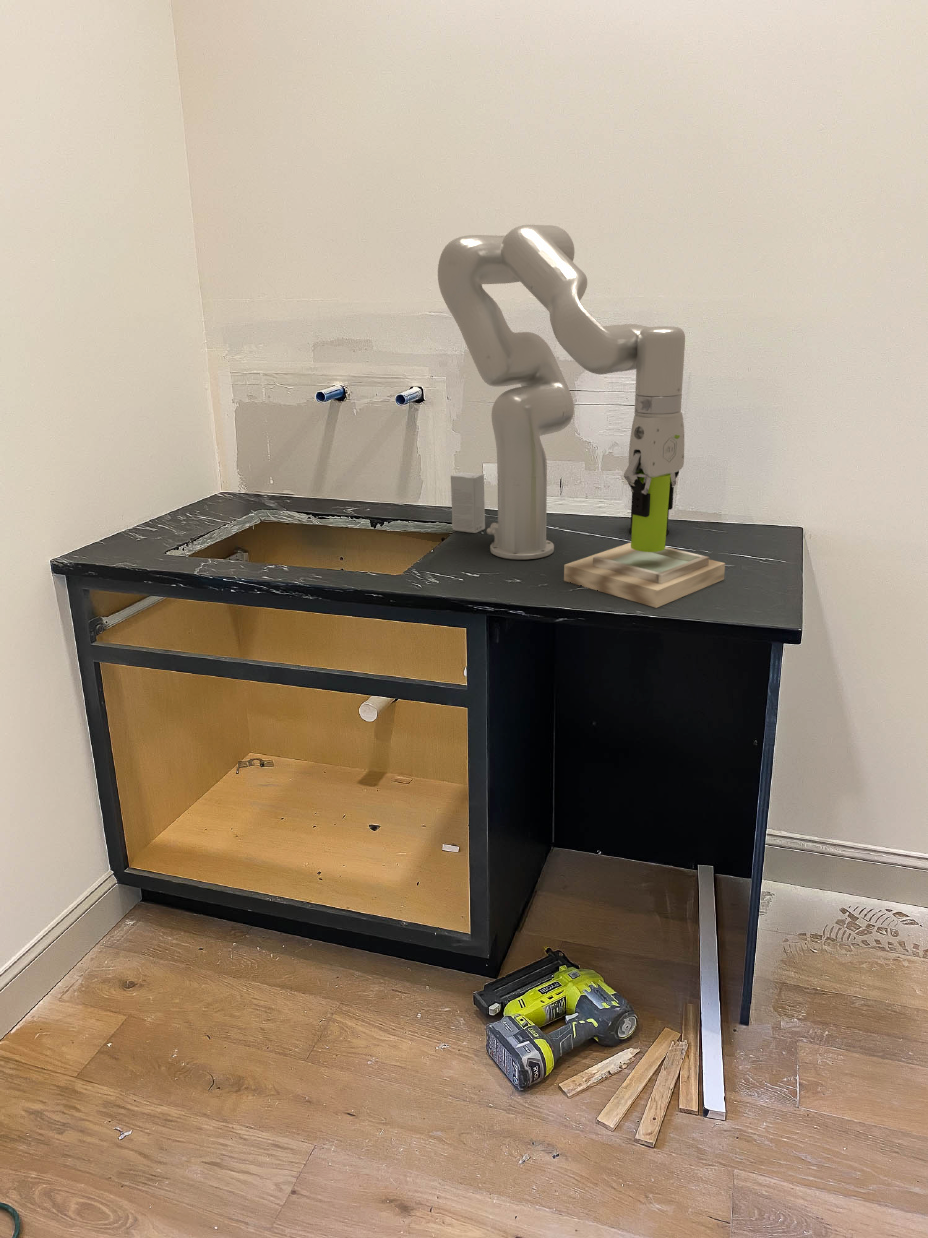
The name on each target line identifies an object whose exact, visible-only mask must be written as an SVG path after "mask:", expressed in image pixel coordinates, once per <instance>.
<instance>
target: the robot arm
mask: <svg viewBox="0 0 928 1238" xmlns="http://www.w3.org/2000/svg"><path fill="white" fill-rule="evenodd" d="M574 259H575V244H574V241H573V239H572V237H571V236H570V235H569V233H568V232H567V231H566V230H565V229H563V228H562V227H560V226H555V225H545V224H523V225H519V226H516V227H514V228H512V229H511V230H510V231H508V232H507V234H506V235H496V234H495V235H489V234H469V235H463V236H459V237H456V238H453V239H452V240H450V241H449V242H448V243H447V244H446V245H445V247H444V248H443V249H442V252H441V254H440V256H439V260H438V264H437V281H438V286H439V287H438V288H439V290H440V294H441V297H442V299H443V301H444V303H445V305H446V307H447V309H448V311H449V312H450V314H451V316H452V317H453V319H454V321H455V322H456V324H457V326H458V328H459V329H458V330H460V334H461V335H462V338H463V340H464V342H465V345H466V347H467V349H468V352H469V354H470V356H471V358H472V360H473V363H474V364H475V367H476V369H477V371H478V374H479V376H480V377H481V379H482V380H483V382H484V383H486V384H487V385H488V386H491V387H494V388H495V387H496V388H497V387H498V388H499V387H501V388H502V387H508V386H514V385H520V386H518V387H515V388H510V389H508V390H506V391H504V392H503V393H501V394H500V395H498V396H497V398H496V400H495V401H494V402H493V405H492V408H491V424H492V430H493V435H494V440H495V448H496V470H497V471H496V473H497V522H492V523H491V524H490V527H487V529H486V534H487V535H491V536H494V541H493V542H491V544H490V546H489V548H490V549H489V550H490V553H491V554H493V556H496V557H499V558H503V559H508V560H518V561H519V560H522V561H523V560H525V561H526V560H535V559H541V558H545V557H548V556H550V555H551V554H553V553H554V551H555V544H554V543H553V542H552V541H550V540H548V539H547V513H548V512H547V509H548V508H547V506H548V505H547V504H548V503H547V502H548V501H547V500H548V498H547V496H548V491H547V490H548V488H547V487H548V461H547V460H548V459H547V454H546V451H545V449H544V446H543V444H542V443H543V442H542V441H541V437H542V436H546V435H550V434H554V433H558V432H561V431H562V430H565V429H566V428H567V427H568V426H569V425H570V423H571V422H572V420H573V418H574V414H575V413H574V412H575V405H574V404H575V403H574V400H573V396H572V393H571V391H570V388H569V386H568V384H567V381H566V379H565V376H564V375H563V372H562V370H561V368H560V366H559V364H558V361H557V359H556V357H555V355H554V352H553V351H552V349H551V346H550V345H549V344H548V343H547V341H545V339H544V338H542V337H541V336H540V335H538V334H536V333H534V332H531V331H530V332H529V331H520V332H514V331H512V329H511V328H510V327H509V324H508V323H507V321H506V319H505V316H504V314H503V311H502V309H501V307H500V306H499V305H498V303H497V302H496V300H494V298H493V297H492V296H491V295H490V294H489V293H488V292H487V291H486V290H485V289H484V288H483V285H497V284H498V285H499V284H500V285H501V284H502V285H503V284H504V285H505V284H514V283H521V284H522V285H523V286H524V288H526V289H527V290H528V292H530V293H531V294H532V296H533V297H535V299H536V300H537V301H538V302H539V303H540V304H541V305H542V306H543V307H544V308H545V309H546V311H548V314H549V321H550V325H551V326H550V327H551V328H552V331H553V335H554V337H555V338H556V340H557V342H558V344H559V345H560V346H561V348H563V350H564V351H565V352H566V353H567V354H568V355H569V356H570V357H571V358H572V360H573V361H575V362H576V363H577V364H578V365H579V366H580V367H582V368H583V369H584V370H586V371H587V372H589V373H592V374H594V375H607V374H613V373H620V372H621V373H622V372H628V371H633V370H636V371H635V372H636V373H635V390H634V392H635V393H634V394H635V395H634V415H633V419H632V425H631V431H630V440H629V449H628V465H627V468H626V470H625V471H624V473H623V477H624V479H625V480H626V481H627V484H628V486H629V488H630V491H631V493H632V492H633V503H632V502H631V505H632V514H633V515H637V516H642V517H648V516H649V512H650V494H649V493H648V490H649V486H650V482H651V479H652V478H655V477H660V476H663V475H667V474H671V477H670V490H669V503H668V510H669V511H670V510H672V509H673V505H674V493H675V492H674V488H675V486H676V485H677V478H678V476H679V473H680V471H681V470H682V469H683V468H684V463H685V423H684V416H683V412H682V399H683V398H682V397H683V395H682V394H683V382H684V381H683V380H684V366H685V364H684V363H685V351H686V350H685V349H686V348H685V346H686V334H685V331H684V329H682V328H680V327H678V326H663V325H662V326H647V325H642V324H636V323H628V324H627V323H626V324H611V325H602V324H601V323H600V322H599V321H597V320H596V319H595V317H593V316H592V315H591V314H590V312H588V310H587V309H586V308H585V307H584V306H583V304H582V302H581V300H582V299H583V296H584V295H585V293H586V290H587V287H588V278H587V276H586V273H585V272H584V271H583V270H582V269H580V267H579V266H578V265H577V264H576V263H575V262H574ZM675 435H680V437H679V438H678V439H676V438H675ZM642 471H643V472H644V474H641V472H642ZM640 478H644V483H643V484H642V482H641V481H640Z"/></svg>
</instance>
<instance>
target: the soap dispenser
mask: <svg viewBox="0 0 928 1238" xmlns="http://www.w3.org/2000/svg"><path fill="white" fill-rule="evenodd" d="M679 437H680V435H675V438H676V439H678V438H679ZM641 474H644V472H643V471H642V472H641ZM670 477H671V474H667V475H663V476H660V477H655V478H652V479H651V482H650V486H649V490H648V493H649V494H650V512H649V516H648V517H642V516H637V515H633V520H632V534H631V539H630V542H631V548H632V549H634V550H637V551H643V552H658V551H662V550H664V549H665V547H666V540H667V535H666V529H667V516H668V503H669V490H670ZM640 481H641V482H642V484H643V483H644V478H640ZM668 517H669V516H668Z"/></svg>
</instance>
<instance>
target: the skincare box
mask: <svg viewBox="0 0 928 1238" xmlns="http://www.w3.org/2000/svg"><path fill="white" fill-rule="evenodd" d="M450 490H451V491H450V493H451V495H450V496H451V522H452V523H451V525H452V526H451V527H452V529H451V530H452V531H457V532H463V533H464V532H465V533H470V534H471V533H472V534H477V533H479V532H481V531H483V530H485V529H486V512H485V511H486V508H485V507H486V506H485V503H486V502H485V475H484V474H483V473H482V474H481V473H473V472H462V471H460V472H457V473H455V474H451V475H450Z"/></svg>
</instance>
